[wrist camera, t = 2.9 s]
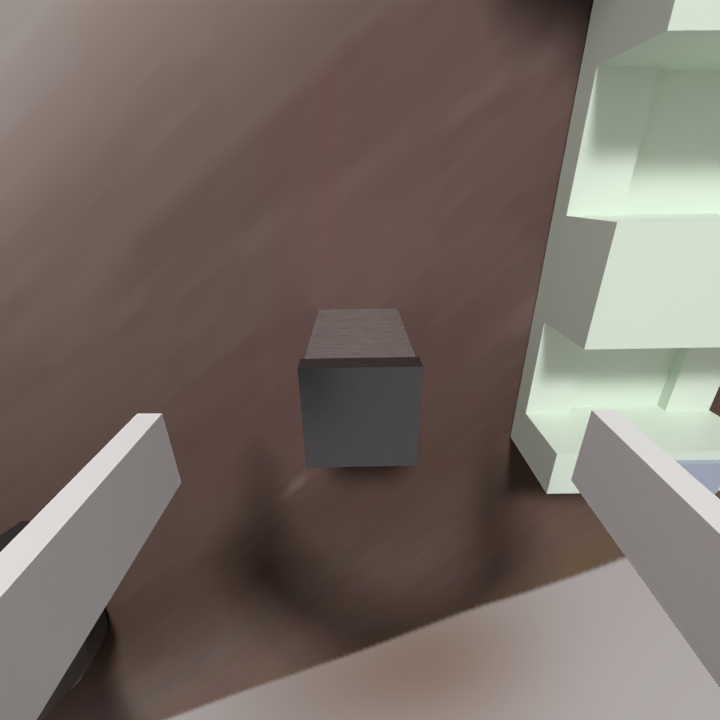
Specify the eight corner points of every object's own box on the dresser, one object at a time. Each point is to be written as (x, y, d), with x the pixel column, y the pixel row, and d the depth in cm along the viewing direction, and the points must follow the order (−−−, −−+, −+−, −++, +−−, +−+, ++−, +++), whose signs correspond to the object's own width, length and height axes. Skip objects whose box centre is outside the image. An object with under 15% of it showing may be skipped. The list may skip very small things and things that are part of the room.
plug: (321, 381, 21) (306, 467, 14) (316, 308, 19) (297, 368, 12) (397, 380, 21) (416, 465, 14) (399, 306, 19) (422, 366, 12)
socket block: (510, 436, 22) (549, 498, 18) (594, -4, 14) (707, -95, 9) (676, 433, 22) (756, 494, 18) (857, -6, 14) (1092, -97, 10)
